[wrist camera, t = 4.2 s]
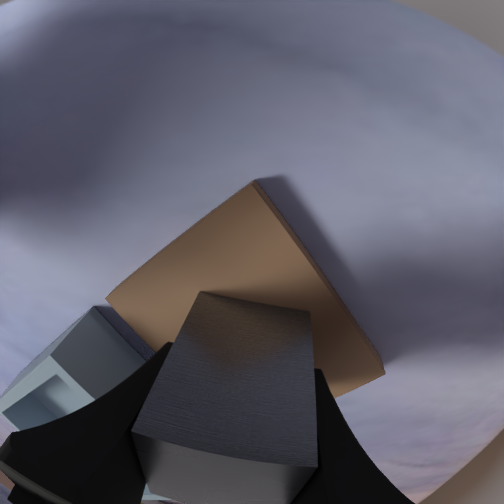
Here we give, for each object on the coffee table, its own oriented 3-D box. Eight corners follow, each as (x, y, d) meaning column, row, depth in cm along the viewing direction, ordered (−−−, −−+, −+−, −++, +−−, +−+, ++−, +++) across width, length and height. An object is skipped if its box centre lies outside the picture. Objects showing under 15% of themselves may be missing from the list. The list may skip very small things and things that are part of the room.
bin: (17, 375, 19) (-8, 406, 15) (93, 305, 14) (49, 355, 10) (121, 464, 21) (106, 498, 18) (241, 441, 17) (232, 494, 13)
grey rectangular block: (194, 369, 13) (150, 493, 7) (199, 291, 12) (130, 431, 6) (287, 386, 13) (278, 518, 7) (310, 311, 12) (317, 467, 6)
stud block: (115, 287, 13) (72, 334, 10) (254, 179, 11) (238, 205, 8) (247, 417, 16) (238, 471, 13) (381, 359, 13) (398, 419, 10)
